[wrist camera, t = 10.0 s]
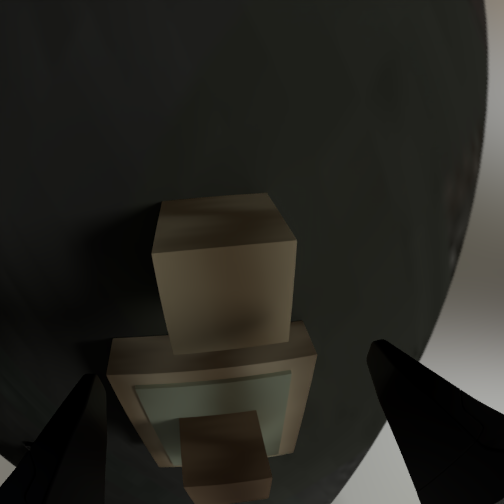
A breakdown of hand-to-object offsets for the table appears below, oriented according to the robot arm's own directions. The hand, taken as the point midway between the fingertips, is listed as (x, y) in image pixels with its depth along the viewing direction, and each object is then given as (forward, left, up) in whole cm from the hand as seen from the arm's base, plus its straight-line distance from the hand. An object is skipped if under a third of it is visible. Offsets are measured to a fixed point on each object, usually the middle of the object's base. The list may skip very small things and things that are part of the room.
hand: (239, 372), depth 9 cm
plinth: (-1, -13, -8) cm, 15 cm away
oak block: (0, 0, -8) cm, 8 cm away
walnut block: (-1, -13, -5) cm, 14 cm away
